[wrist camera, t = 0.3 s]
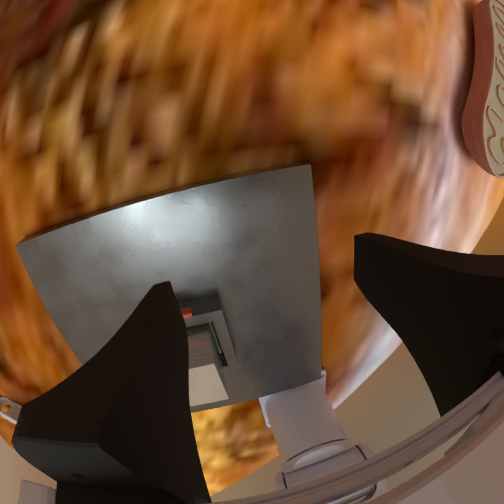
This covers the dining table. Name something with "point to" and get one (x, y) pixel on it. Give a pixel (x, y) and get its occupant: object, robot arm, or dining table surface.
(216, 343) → the grey block
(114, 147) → the dining table surface
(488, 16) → the brown rounded block
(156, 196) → the stand
